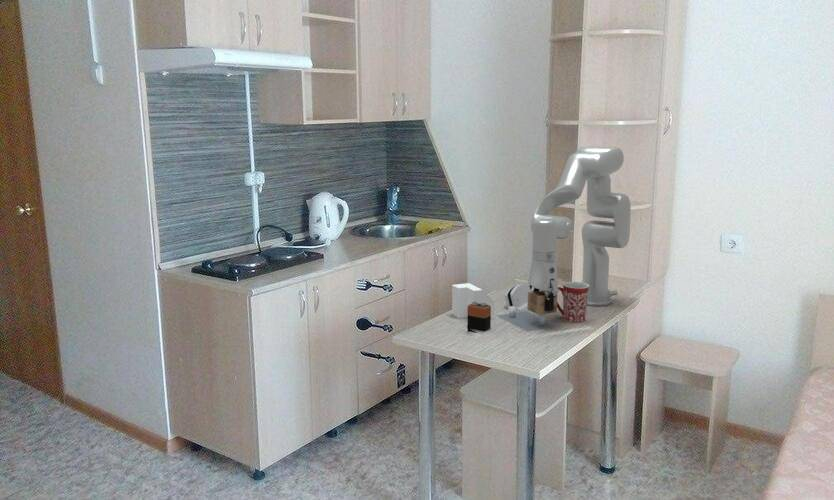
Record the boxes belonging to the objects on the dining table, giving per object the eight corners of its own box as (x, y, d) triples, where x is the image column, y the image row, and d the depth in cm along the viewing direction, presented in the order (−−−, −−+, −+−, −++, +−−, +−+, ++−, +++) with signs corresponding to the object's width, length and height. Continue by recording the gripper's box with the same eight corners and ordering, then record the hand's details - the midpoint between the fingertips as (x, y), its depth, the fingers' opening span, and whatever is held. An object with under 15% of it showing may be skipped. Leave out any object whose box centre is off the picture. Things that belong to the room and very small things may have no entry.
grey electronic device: (521, 315, 244) (513, 288, 244) (509, 317, 247) (501, 291, 247) (539, 304, 258) (531, 279, 258) (528, 306, 261) (520, 282, 261)
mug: (591, 321, 236) (592, 283, 234) (582, 327, 229) (584, 289, 226) (557, 315, 243) (558, 279, 241) (547, 322, 236) (548, 284, 233)
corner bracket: (452, 317, 243) (452, 284, 240) (480, 313, 247) (480, 281, 244) (464, 325, 233) (464, 291, 231) (494, 321, 237) (494, 288, 235)
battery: (484, 335, 223) (485, 305, 221) (466, 331, 226) (467, 302, 224) (491, 331, 226) (491, 302, 224) (473, 328, 230) (473, 299, 228)
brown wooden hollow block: (544, 307, 233) (545, 290, 232) (556, 312, 227) (557, 294, 225) (527, 309, 230) (527, 292, 229) (539, 314, 224) (539, 297, 223)
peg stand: (526, 314, 246) (526, 298, 244) (559, 329, 228) (560, 312, 227) (495, 318, 240) (495, 303, 239) (527, 334, 222) (527, 317, 221)
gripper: (569, 259, 218) (567, 312, 222) (537, 250, 234) (536, 300, 237) (549, 262, 215) (548, 315, 219) (519, 252, 231) (518, 303, 234)
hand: (542, 307), depth 228 cm, fingers closed on brown wooden hollow block, 7 cm apart
